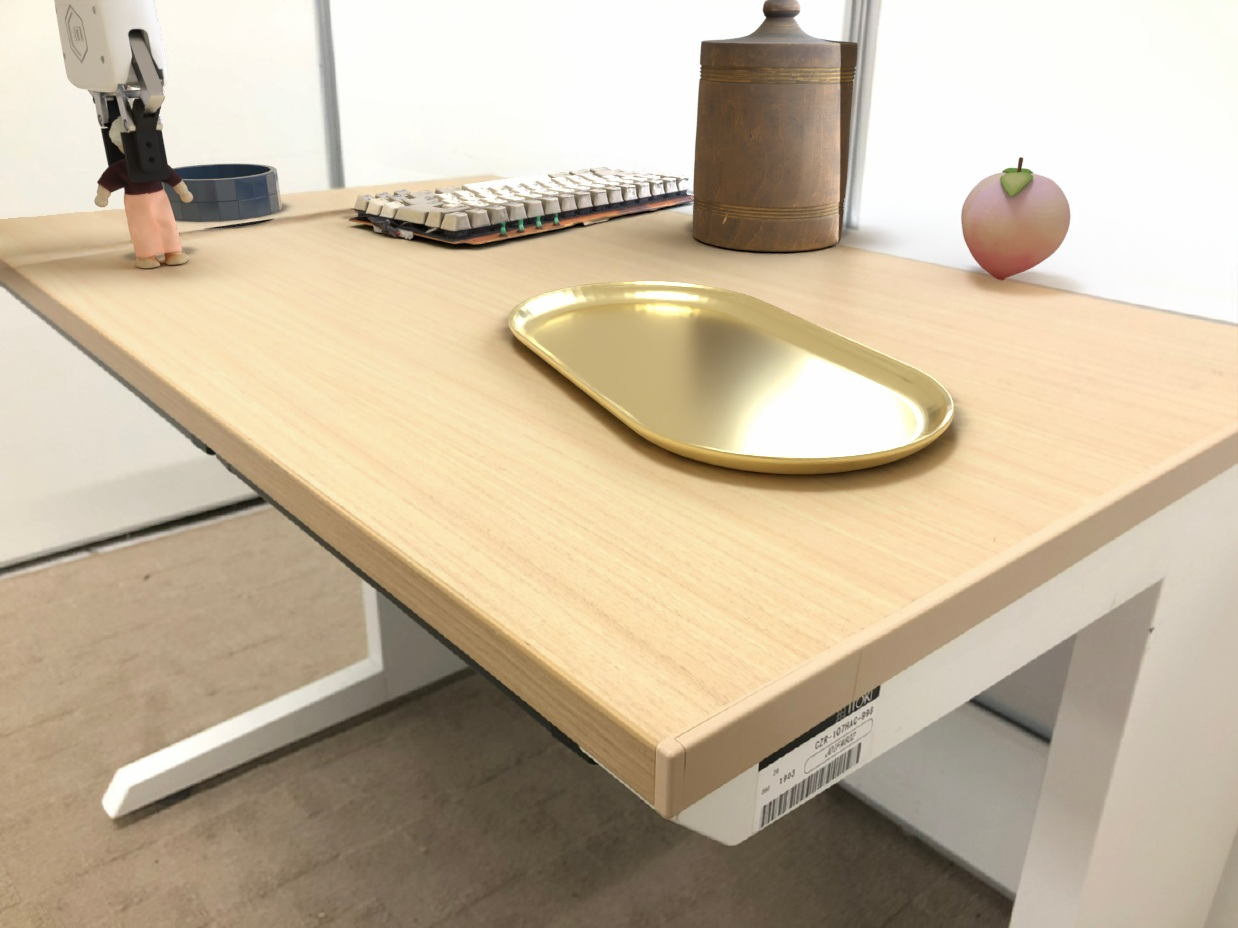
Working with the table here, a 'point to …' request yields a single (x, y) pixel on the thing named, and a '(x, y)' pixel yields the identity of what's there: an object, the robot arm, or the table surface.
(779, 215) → the wooden container
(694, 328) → the serving platter
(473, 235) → the mechanical keyboard
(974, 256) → the decorative fruit
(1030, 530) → the table surface
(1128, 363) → the table surface
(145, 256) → the grandmother figurine
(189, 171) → the bowl
